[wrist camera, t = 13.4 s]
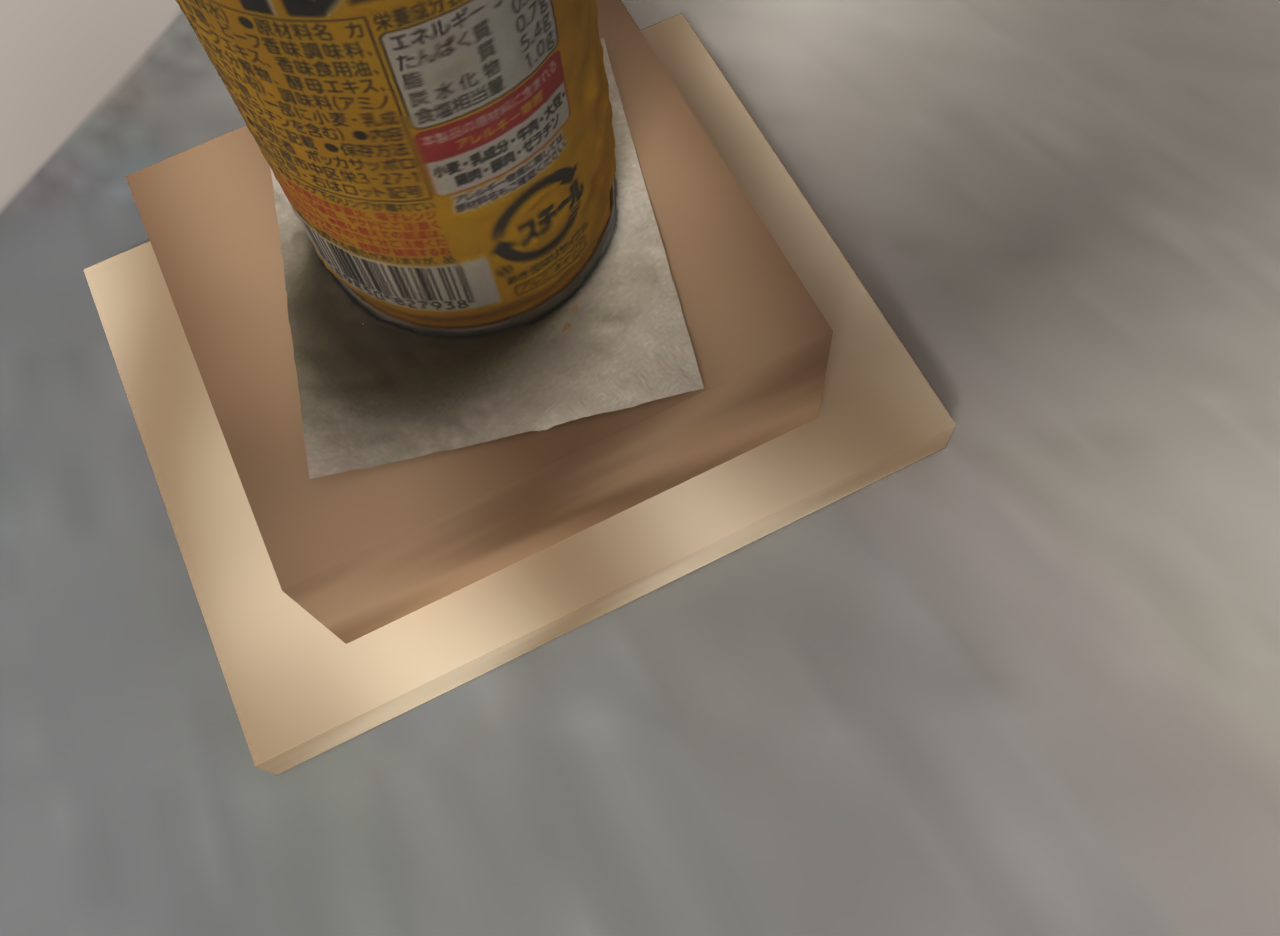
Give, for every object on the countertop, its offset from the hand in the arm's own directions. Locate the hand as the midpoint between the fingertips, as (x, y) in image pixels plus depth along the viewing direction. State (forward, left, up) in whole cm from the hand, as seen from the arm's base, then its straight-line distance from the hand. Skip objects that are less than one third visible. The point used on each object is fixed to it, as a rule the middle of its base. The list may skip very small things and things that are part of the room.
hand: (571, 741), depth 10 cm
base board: (-2, -12, -14) cm, 19 cm away
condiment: (-2, -12, -10) cm, 15 cm away
